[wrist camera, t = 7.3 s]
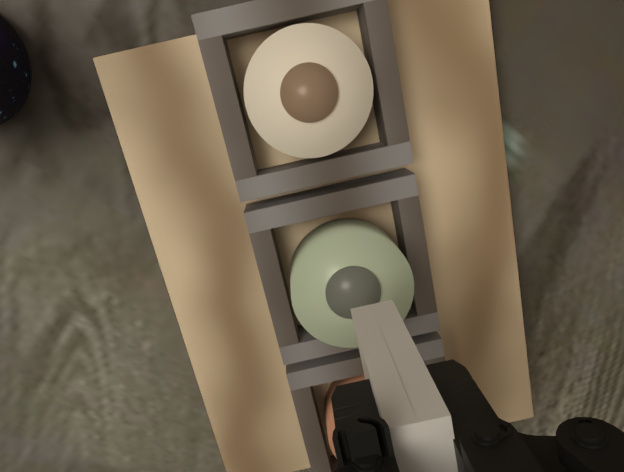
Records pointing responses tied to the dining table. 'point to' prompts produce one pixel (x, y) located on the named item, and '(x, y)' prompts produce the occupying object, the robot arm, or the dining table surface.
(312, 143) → the cream button
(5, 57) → the beverage can
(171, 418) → the dining table surface
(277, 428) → the panel
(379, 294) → the sage button
